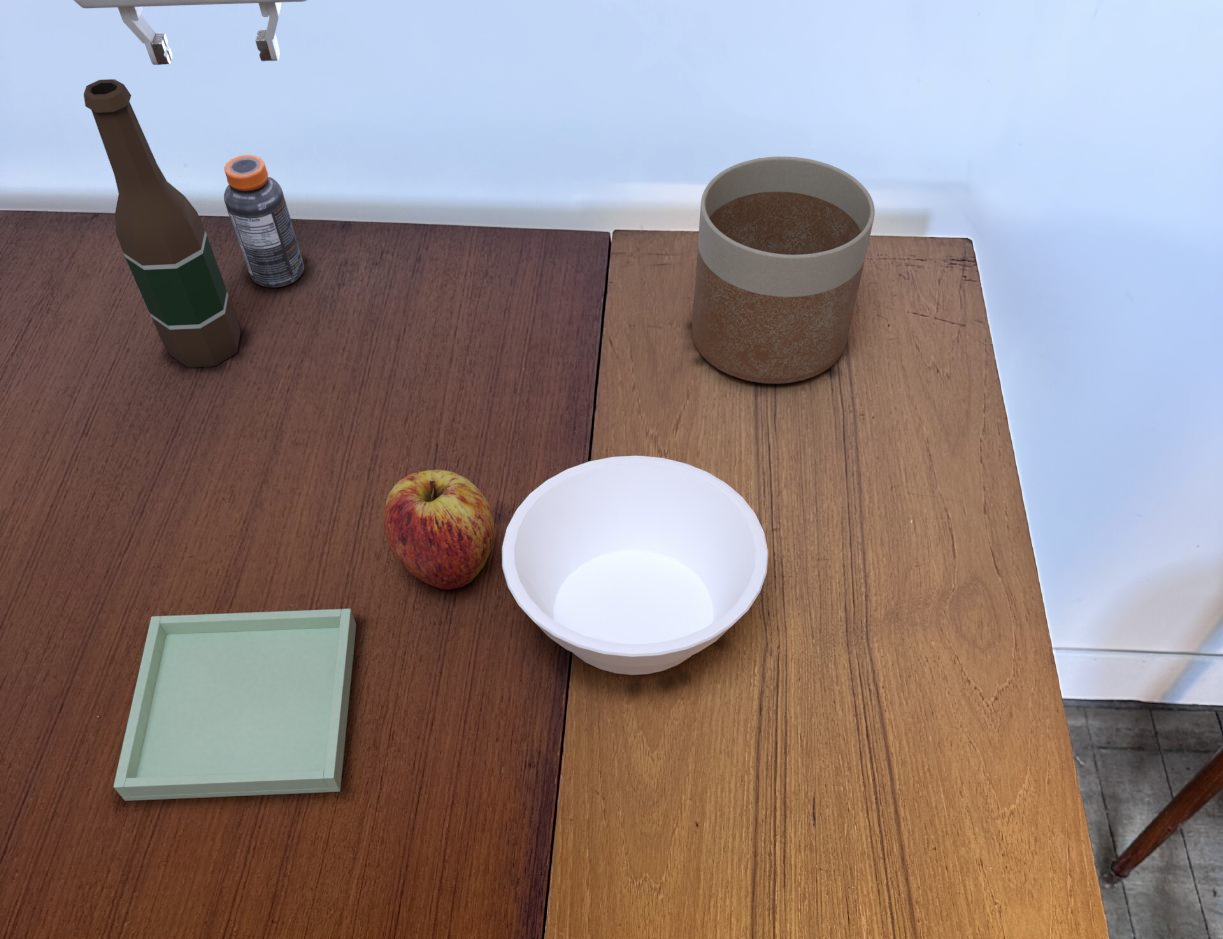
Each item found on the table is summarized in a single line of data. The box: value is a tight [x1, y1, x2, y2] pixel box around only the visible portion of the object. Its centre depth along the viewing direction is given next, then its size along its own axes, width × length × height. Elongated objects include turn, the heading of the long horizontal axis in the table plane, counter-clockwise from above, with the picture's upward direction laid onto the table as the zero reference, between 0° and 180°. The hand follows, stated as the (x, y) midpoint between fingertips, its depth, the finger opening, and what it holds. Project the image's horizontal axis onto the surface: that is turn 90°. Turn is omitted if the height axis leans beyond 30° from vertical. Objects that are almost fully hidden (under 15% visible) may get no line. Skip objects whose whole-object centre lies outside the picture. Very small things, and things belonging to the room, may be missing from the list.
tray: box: [113, 608, 357, 802], centre depth 81 cm, size 17×17×2 cm
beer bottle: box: [83, 78, 242, 369], centre depth 94 cm, size 8×8×24 cm
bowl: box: [501, 455, 769, 676], centre depth 83 cm, size 21×21×8 cm
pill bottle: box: [223, 154, 305, 288], centre depth 105 cm, size 6×6×11 cm
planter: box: [691, 156, 876, 385], centre depth 98 cm, size 16×16×14 cm
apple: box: [383, 469, 496, 591], centre depth 85 cm, size 9×9×10 cm
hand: (217, 59), depth 89 cm, fingers open, 8 cm apart
